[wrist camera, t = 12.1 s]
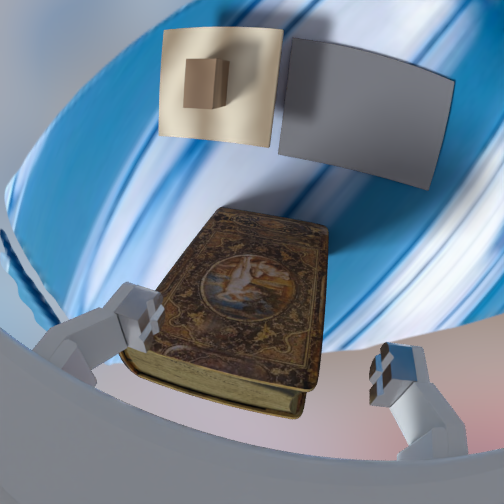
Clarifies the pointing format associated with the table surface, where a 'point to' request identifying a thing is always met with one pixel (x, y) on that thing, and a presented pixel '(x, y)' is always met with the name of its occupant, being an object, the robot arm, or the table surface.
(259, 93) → the board
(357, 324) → the table surface
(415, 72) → the mat
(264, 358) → the book
